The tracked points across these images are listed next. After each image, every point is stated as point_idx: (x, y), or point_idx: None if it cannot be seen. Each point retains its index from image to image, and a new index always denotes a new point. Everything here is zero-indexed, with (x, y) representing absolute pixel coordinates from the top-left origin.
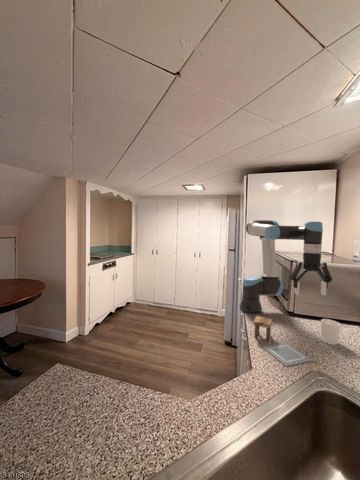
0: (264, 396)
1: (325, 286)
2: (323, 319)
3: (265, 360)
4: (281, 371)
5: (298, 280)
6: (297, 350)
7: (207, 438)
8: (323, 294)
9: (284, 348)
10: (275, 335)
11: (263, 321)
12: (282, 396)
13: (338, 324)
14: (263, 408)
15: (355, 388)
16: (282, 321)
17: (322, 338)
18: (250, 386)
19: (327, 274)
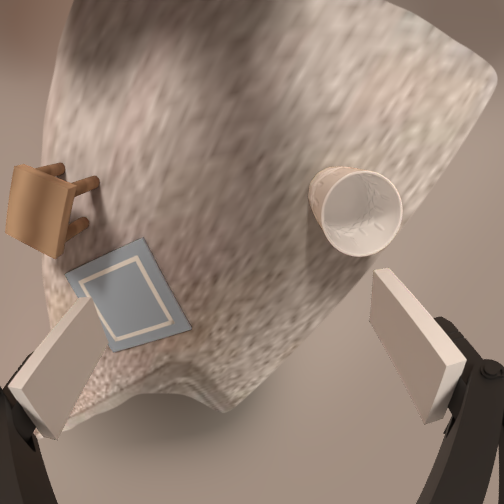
0: (75, 407)
1: (411, 383)
2: (352, 175)
3: None
4: (102, 364)
5: (38, 449)
6: (164, 283)
7: (36, 433)
8: (372, 310)
9: (124, 276)
10: (119, 174)
11: (33, 228)
12: (99, 410)
13: (395, 219)
14: (75, 421)
15: (242, 400)
16: (210, 16)
17: (309, 194)
18: None
19: (499, 500)
